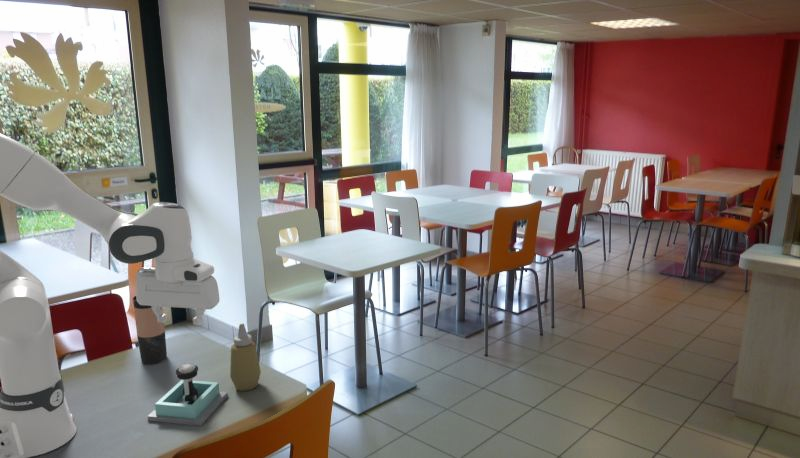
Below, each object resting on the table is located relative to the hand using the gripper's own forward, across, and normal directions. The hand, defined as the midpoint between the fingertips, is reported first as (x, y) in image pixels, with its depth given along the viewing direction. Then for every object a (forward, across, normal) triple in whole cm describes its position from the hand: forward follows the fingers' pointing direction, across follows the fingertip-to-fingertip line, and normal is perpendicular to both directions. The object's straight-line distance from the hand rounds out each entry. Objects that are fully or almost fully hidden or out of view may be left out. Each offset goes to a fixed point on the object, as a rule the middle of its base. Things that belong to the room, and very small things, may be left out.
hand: (180, 323), depth 141 cm
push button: (+22, 0, 0) cm, 22 cm away
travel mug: (+23, -25, +24) cm, 42 cm away
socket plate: (+23, 0, 0) cm, 23 cm away
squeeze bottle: (+23, +10, +13) cm, 28 cm away
